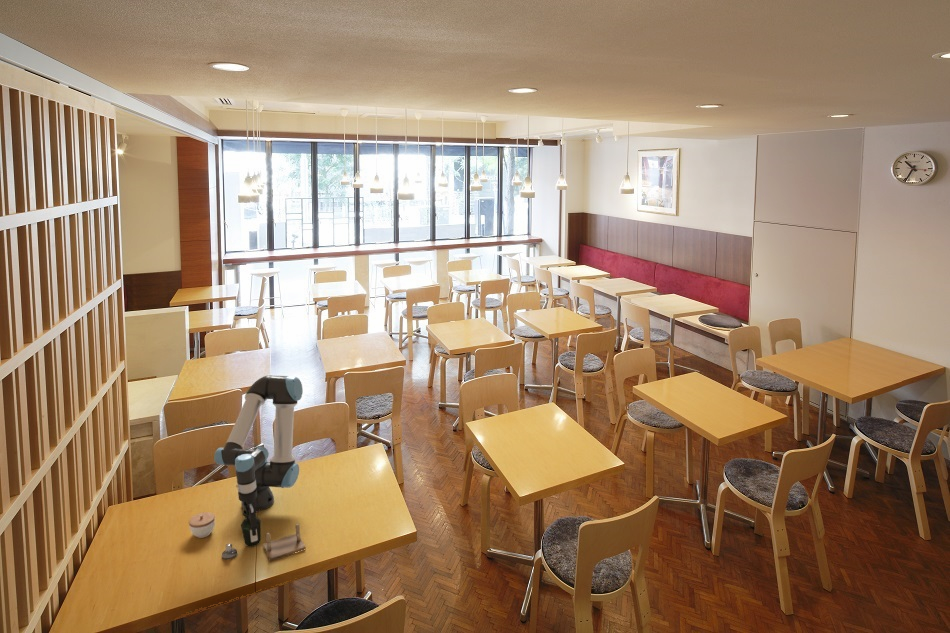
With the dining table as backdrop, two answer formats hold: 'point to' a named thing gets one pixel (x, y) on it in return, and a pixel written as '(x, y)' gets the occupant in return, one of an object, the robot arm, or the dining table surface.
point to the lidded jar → (202, 524)
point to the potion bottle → (246, 531)
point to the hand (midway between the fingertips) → (252, 535)
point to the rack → (283, 545)
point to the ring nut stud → (229, 552)
